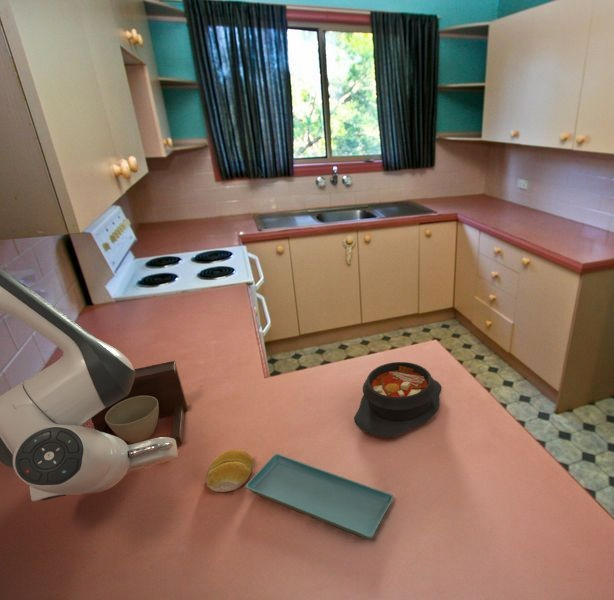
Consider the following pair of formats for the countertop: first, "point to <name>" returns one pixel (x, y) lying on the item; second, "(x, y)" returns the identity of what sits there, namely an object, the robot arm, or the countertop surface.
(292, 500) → the rectangular tray
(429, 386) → the casserole
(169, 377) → the cup rack
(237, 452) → the bread roll
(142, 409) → the beige bowl
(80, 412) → the robot arm
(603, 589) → the countertop surface
